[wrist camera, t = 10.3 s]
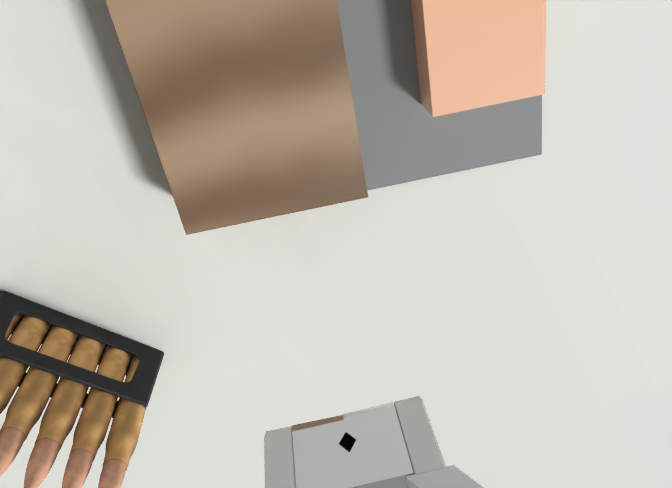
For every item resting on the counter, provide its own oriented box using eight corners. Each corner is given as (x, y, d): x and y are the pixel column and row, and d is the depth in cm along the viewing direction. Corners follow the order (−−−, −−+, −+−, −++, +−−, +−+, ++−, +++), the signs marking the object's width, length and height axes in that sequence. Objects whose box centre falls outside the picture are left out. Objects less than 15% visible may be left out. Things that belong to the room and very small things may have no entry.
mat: (301, -175, 25) (301, -176, 25) (539, -221, 26) (543, -224, 25) (361, 188, 34) (362, 191, 34) (538, 152, 34) (541, 154, 34)
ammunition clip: (-10, 311, 35) (-125, 468, 25) (0, 289, 35) (-114, 441, 24) (153, 371, 39) (113, 530, 28) (164, 352, 38) (127, 508, 28)
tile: (546, -105, 25) (524, -102, 27) (415, -79, 25) (403, -78, 27) (544, 94, 30) (525, 83, 32) (432, 116, 30) (421, 104, 32)
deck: (90, -106, 26) (66, -111, 23) (305, -148, 26) (311, -159, 23) (193, 207, 34) (186, 234, 30) (358, 173, 34) (368, 197, 31)
